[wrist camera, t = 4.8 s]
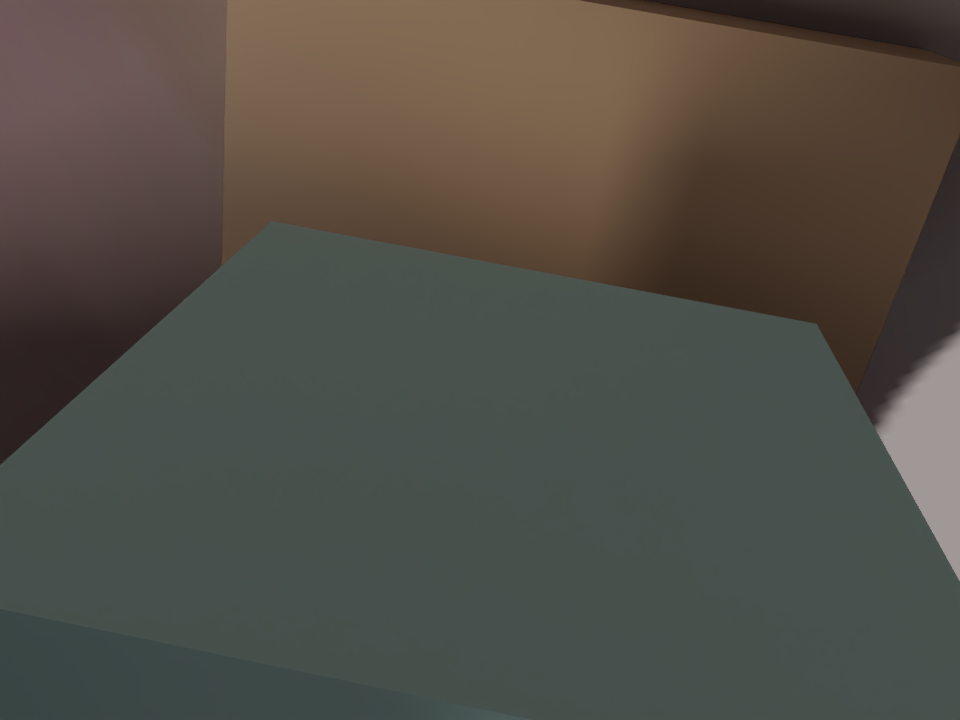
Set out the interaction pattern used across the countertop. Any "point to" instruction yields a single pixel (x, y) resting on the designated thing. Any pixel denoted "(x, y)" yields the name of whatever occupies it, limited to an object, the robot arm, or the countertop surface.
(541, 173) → the walnut base
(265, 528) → the teal block
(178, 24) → the countertop surface
